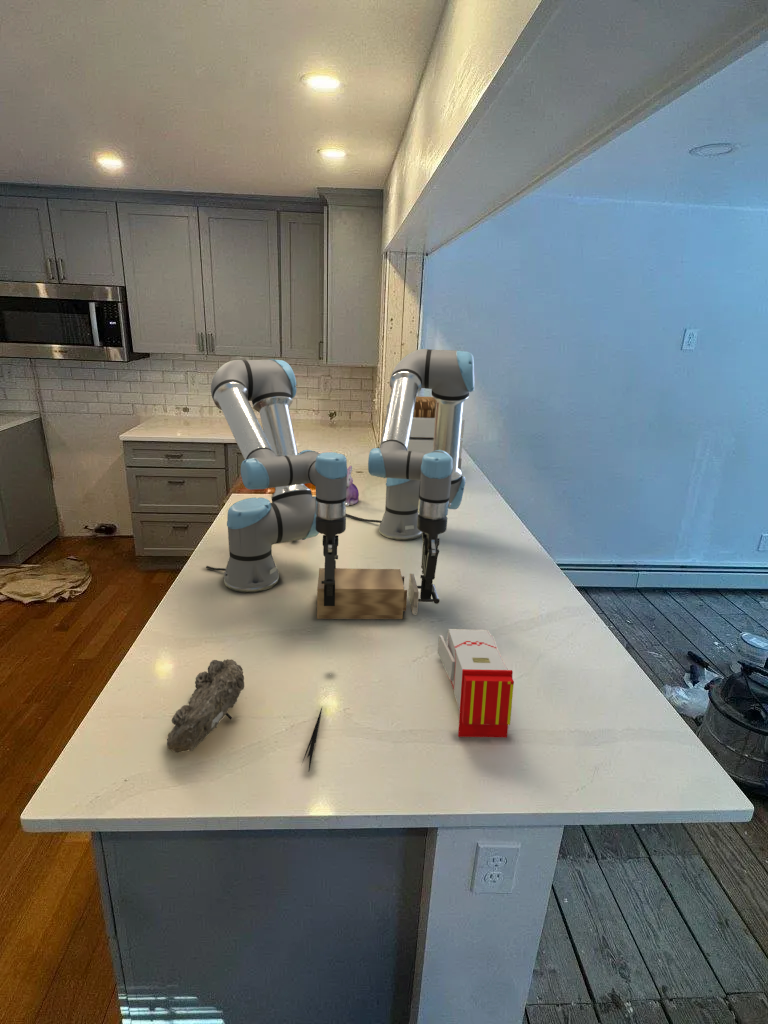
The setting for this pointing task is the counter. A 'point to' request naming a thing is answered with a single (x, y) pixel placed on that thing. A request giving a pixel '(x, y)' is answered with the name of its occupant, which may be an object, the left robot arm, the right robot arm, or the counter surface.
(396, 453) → the right robot arm
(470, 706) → the toy
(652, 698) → the counter surface
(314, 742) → the feather
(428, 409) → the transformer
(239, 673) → the fossil
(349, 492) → the figurine
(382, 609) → the cabinet
